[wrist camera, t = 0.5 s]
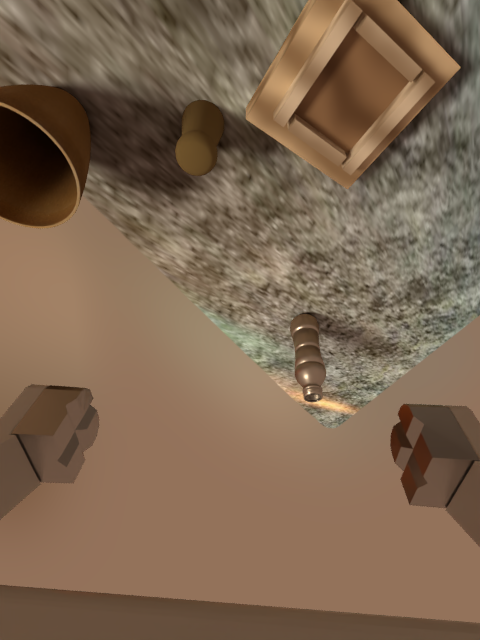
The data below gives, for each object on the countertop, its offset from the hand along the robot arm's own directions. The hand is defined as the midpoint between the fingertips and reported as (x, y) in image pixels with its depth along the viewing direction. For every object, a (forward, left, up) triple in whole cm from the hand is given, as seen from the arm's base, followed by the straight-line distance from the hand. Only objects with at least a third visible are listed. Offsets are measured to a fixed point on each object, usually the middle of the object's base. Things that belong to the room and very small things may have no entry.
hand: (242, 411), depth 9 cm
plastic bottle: (+38, +40, -49) cm, 74 cm away
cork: (+13, +1, -49) cm, 51 cm away
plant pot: (+23, -17, -49) cm, 57 cm away
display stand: (-1, +14, -49) cm, 51 cm away
